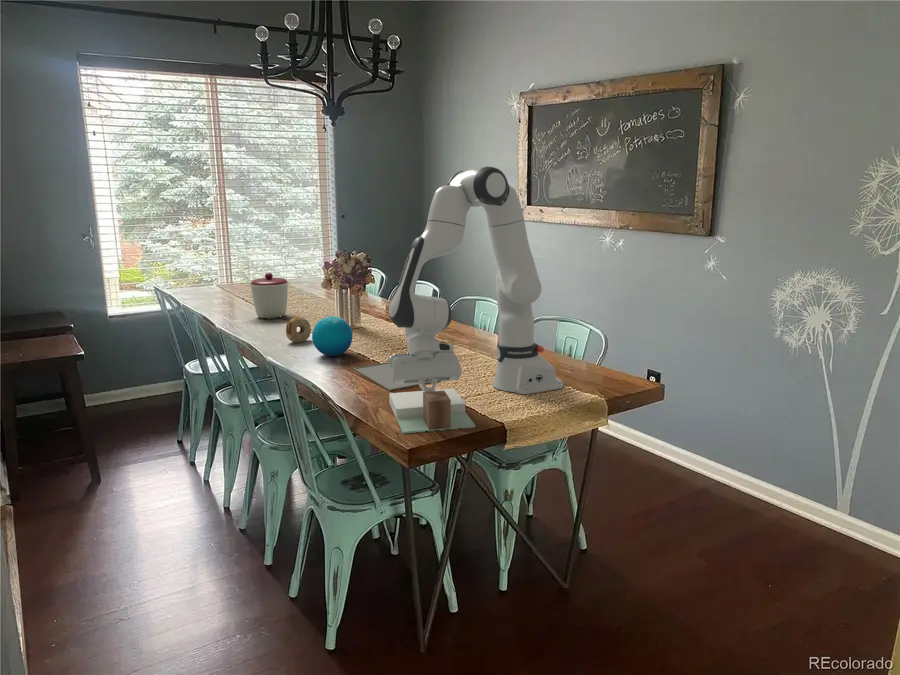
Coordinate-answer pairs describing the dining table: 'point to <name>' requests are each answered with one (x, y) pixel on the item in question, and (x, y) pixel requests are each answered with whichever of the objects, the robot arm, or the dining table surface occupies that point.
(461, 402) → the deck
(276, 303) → the canister
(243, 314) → the dining table surface
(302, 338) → the stone disc
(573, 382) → the dining table surface
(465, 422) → the mat
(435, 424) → the walnut block
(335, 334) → the decorative orb
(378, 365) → the picture frame
